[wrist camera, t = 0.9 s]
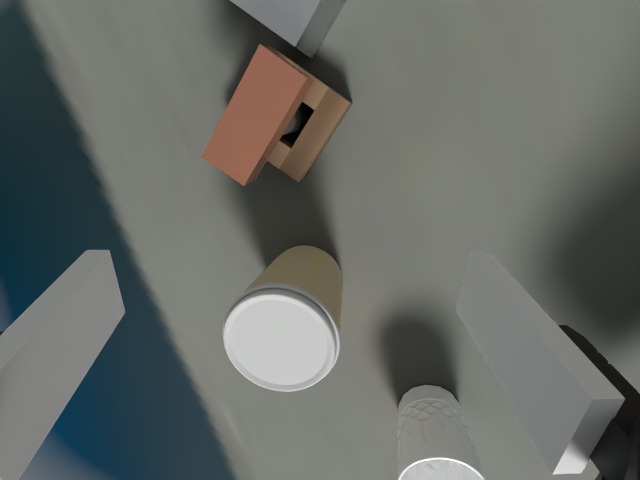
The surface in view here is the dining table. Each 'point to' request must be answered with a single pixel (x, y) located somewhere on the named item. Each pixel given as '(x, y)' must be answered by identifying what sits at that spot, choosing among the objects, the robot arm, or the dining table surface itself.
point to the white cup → (434, 438)
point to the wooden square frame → (310, 127)
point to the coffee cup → (287, 321)
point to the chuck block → (295, 19)
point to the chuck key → (258, 116)
